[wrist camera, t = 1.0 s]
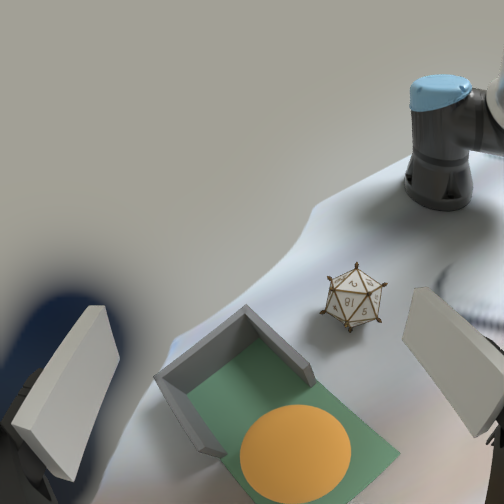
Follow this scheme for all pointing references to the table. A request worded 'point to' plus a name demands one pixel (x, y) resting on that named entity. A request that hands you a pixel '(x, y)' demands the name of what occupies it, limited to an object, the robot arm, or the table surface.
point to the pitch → (259, 400)
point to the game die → (354, 298)
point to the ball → (295, 454)
